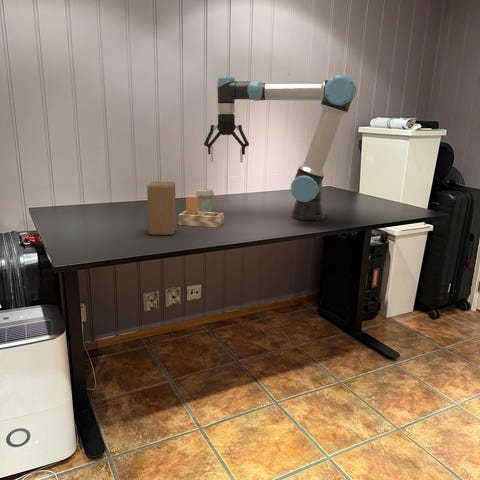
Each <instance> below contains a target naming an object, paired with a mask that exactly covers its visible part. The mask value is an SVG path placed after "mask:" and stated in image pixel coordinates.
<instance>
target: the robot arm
mask: <svg viewBox="0 0 480 480" xmlns="http://www.w3.org/2000/svg"><path fill="white" fill-rule="evenodd" d="M216 90H217V113H218V114H217V124H216V125H215V124H211V125H210V129H209V132H208V134H207V137H206V138H205V140H204V143H203V146H204V147H207V153H208V155H209V157H210V163H213V162H214V147H213V145H214V143H216V141H217V140H218V138H219V137H220V136H221V135H222V136H232V137H233V138H234V139H235V141H236V142H237V143H238V144H239V145H240V146H241V147H240V149H239V159H240V160H239V161H240V163H243V161H244V159H243V158H244V157H243V156H245V155H246V147H249V146H250V142H249V141H248V139H247V136H246V134H245V132H244V130H243V125H242V124H237V125H236V123H235V122H236V121H235V118H236V115H235V114H234V113H235V109H236V107H235V100H249V101H255V102H257V101H258V102H259V101H312V102H313V101H314V102H315V101H316V102H317V101H320V102H321V103H320V106H321V109H322V110H321V113H320V116H319V119H318V122H317V125H316V128H315V131H314V134H313V136H312V138H311V141H310V144H309V148H308V150H307V153H306V156H305V158H304V162H303V164H300V165H299V166H298V169H297V172H296V173H295V177H294V179H293V180H292V181H291V184H290V191H291V195H292V197H293V198H294V199H295V202H294V206H293V208H292V211H291V218H292V219H295V220H298V219H299V220H300V221H306V220H312V221H313V220H316V221H321V220H323V219H324V218H325V217H324V216H325V215H324V209H323V206H322V190H323V180H324V177H325V173H324V172H323V170H324V166H325V164H326V161H327V159H328V156H329V154H330V153H329V152H330V151H331V148H332V146H333V142H334V140H335V137H336V134H337V132H338V129H339V127H340V123H341V120H342V119H343V116H346V114H348V113H349V110H350V108H351V104H352V102H353V100H354V98H355V96H356V95H357V87H356V84H355V81H354V80H353V78H351V77H350V76H348V75H346V74H336V75H334V76H332V77H331V78H330V79H329V80H328V79H324V80H323V81H322V82H262V81H258V80H257V81H256V80H247V81H246V80H245V81H242V80H241V81H236V79H235V76H219V77H218V78H217V87H216ZM216 129H217V131H218V132H217V133H216V135H214V136H213V138H212V135H213V134H214V132H215V130H216ZM235 130H237V131H238V132H239V133H240V136H241V138H240V137H239V136H238V135H237V133H236V132H235ZM211 138H212V139H211ZM241 139H242V140H243V141H242V140H241ZM210 140H211V141H210ZM312 221H311V222H312ZM313 222H314V221H313Z"/></svg>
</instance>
